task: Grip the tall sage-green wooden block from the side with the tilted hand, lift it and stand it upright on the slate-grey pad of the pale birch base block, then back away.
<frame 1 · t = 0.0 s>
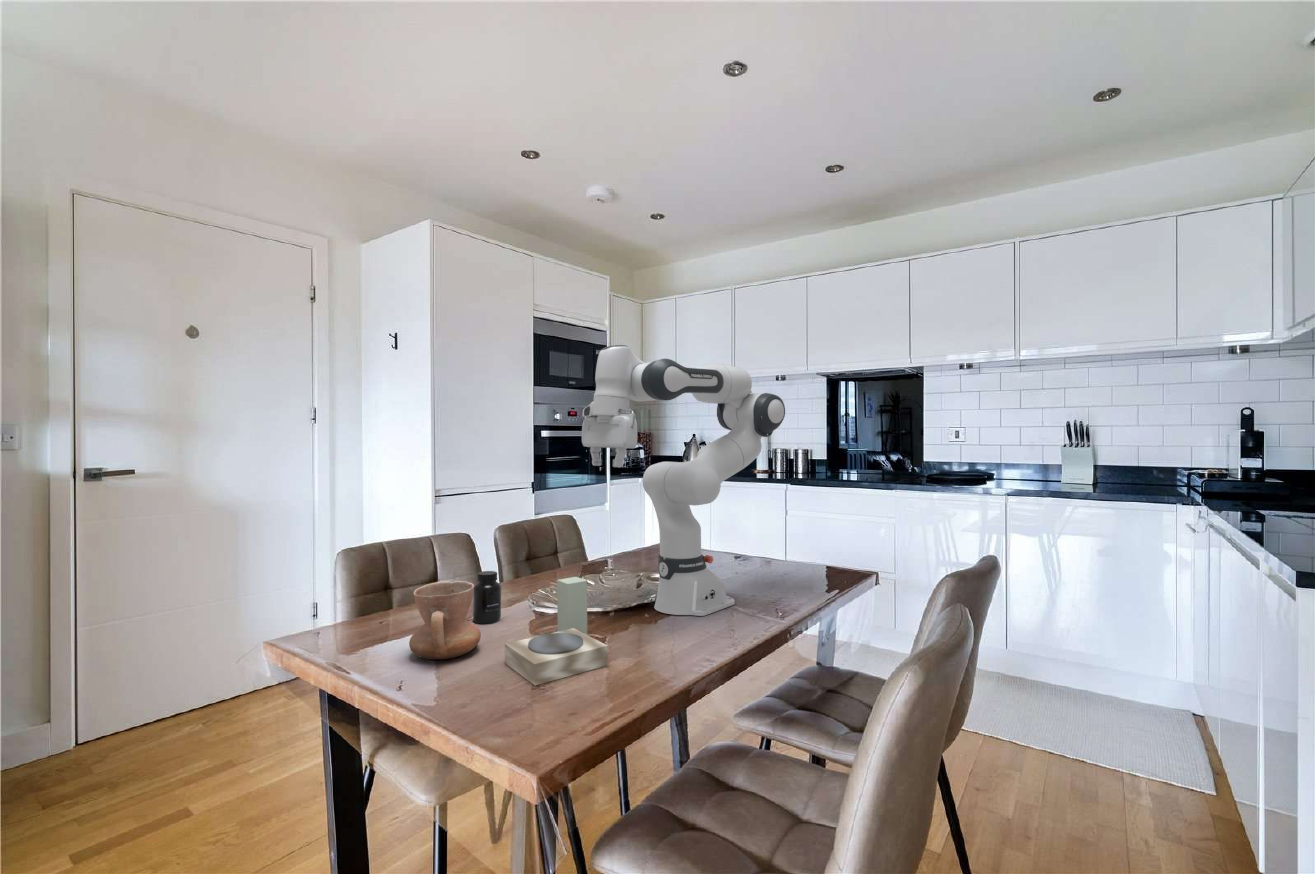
hand: (606, 466, 149), 39 cm above the table, tool pointing down, fingers open, 8 cm apart
ceramic jug: (444, 654, 130), on the table
sage block: (572, 636, 141), on the table
supplement bottle: (487, 620, 153), on the table
birch base: (555, 664, 124), on the table
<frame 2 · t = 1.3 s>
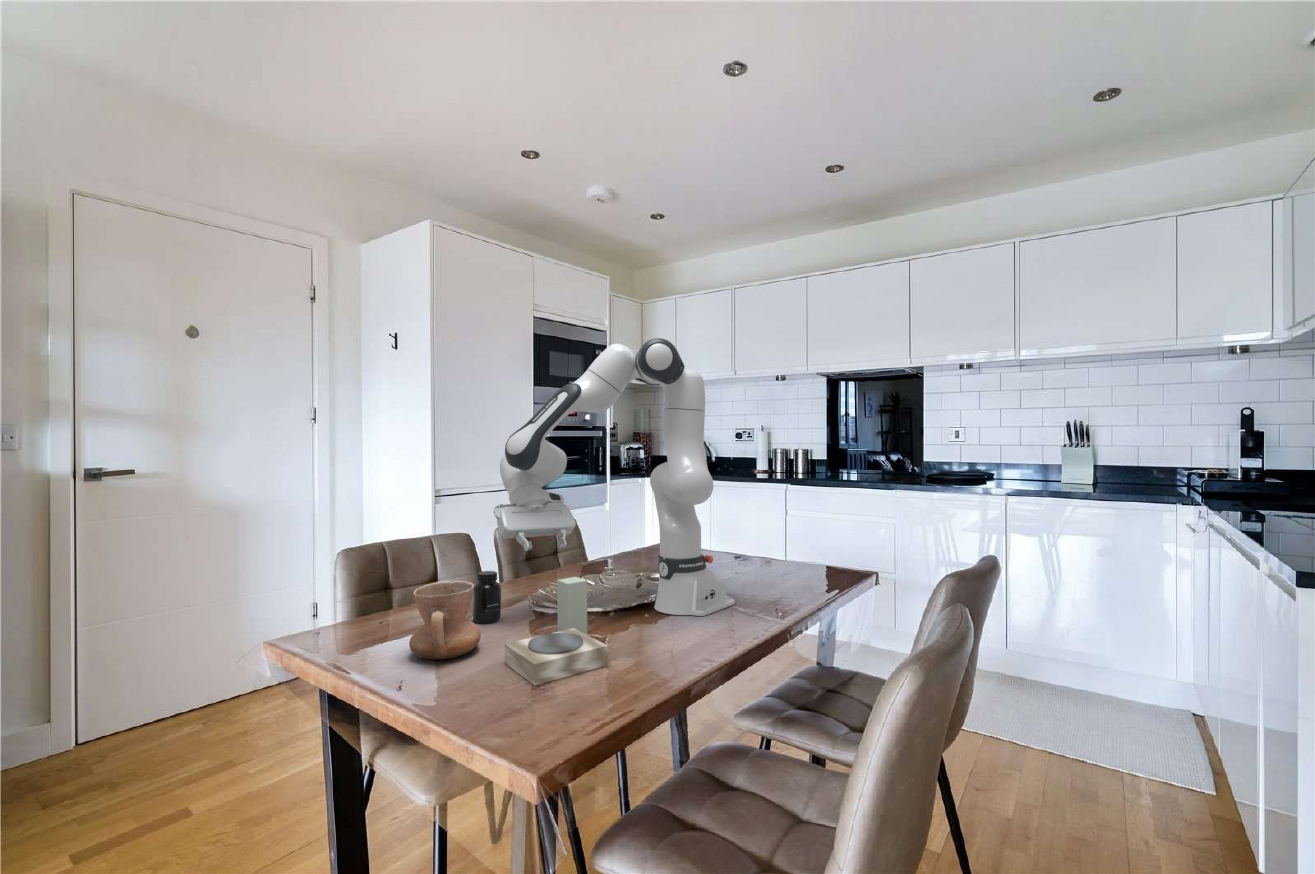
hand: (546, 547, 150), 19 cm above the table, tool tilted 45°, fingers open, 8 cm apart
nothing on the table moved.
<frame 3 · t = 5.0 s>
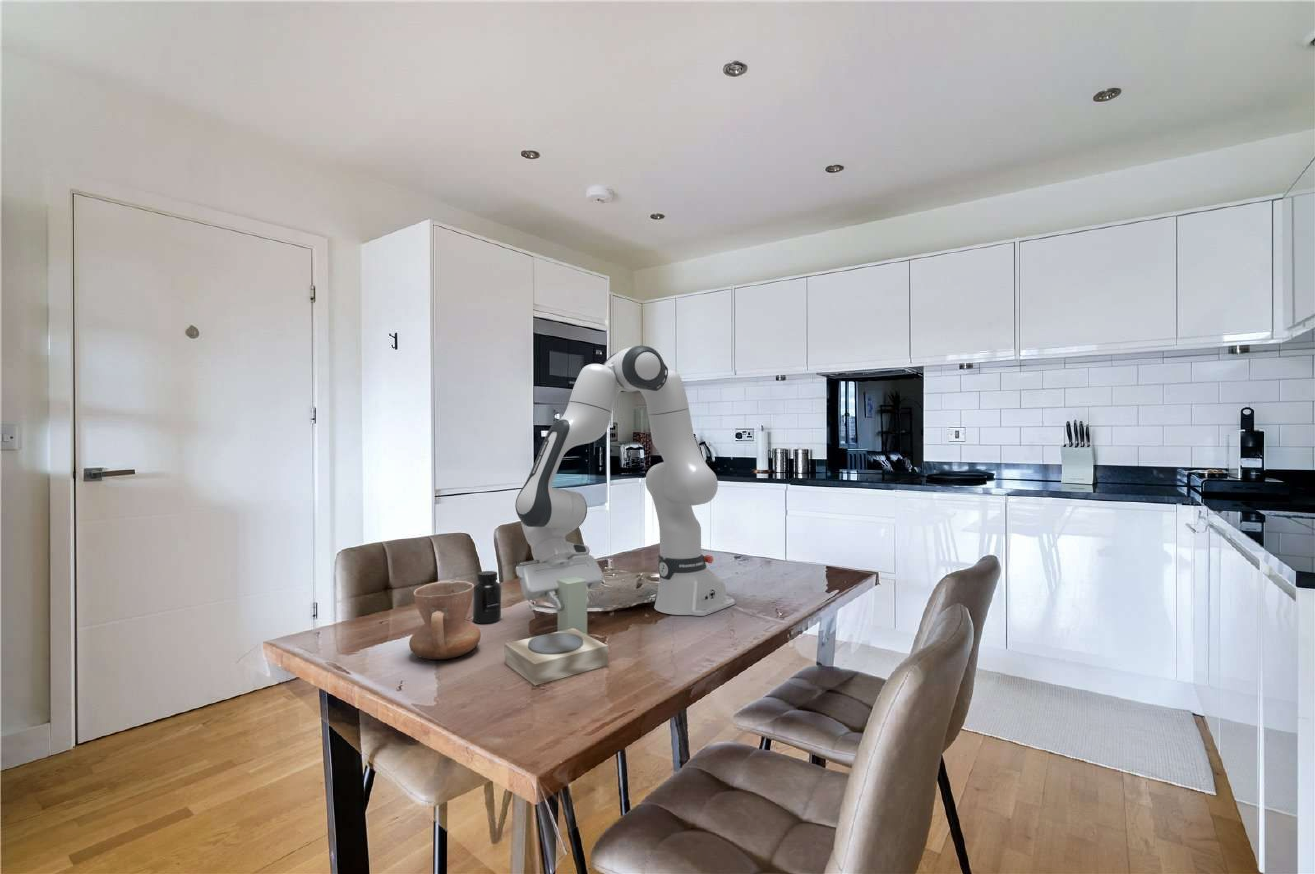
hand: (573, 607, 140), 7 cm above the table, tool tilted 45°, fingers closed on sage block, 5 cm apart
sage block: (572, 636, 141), on the table, touching gripper
everything else where it was.
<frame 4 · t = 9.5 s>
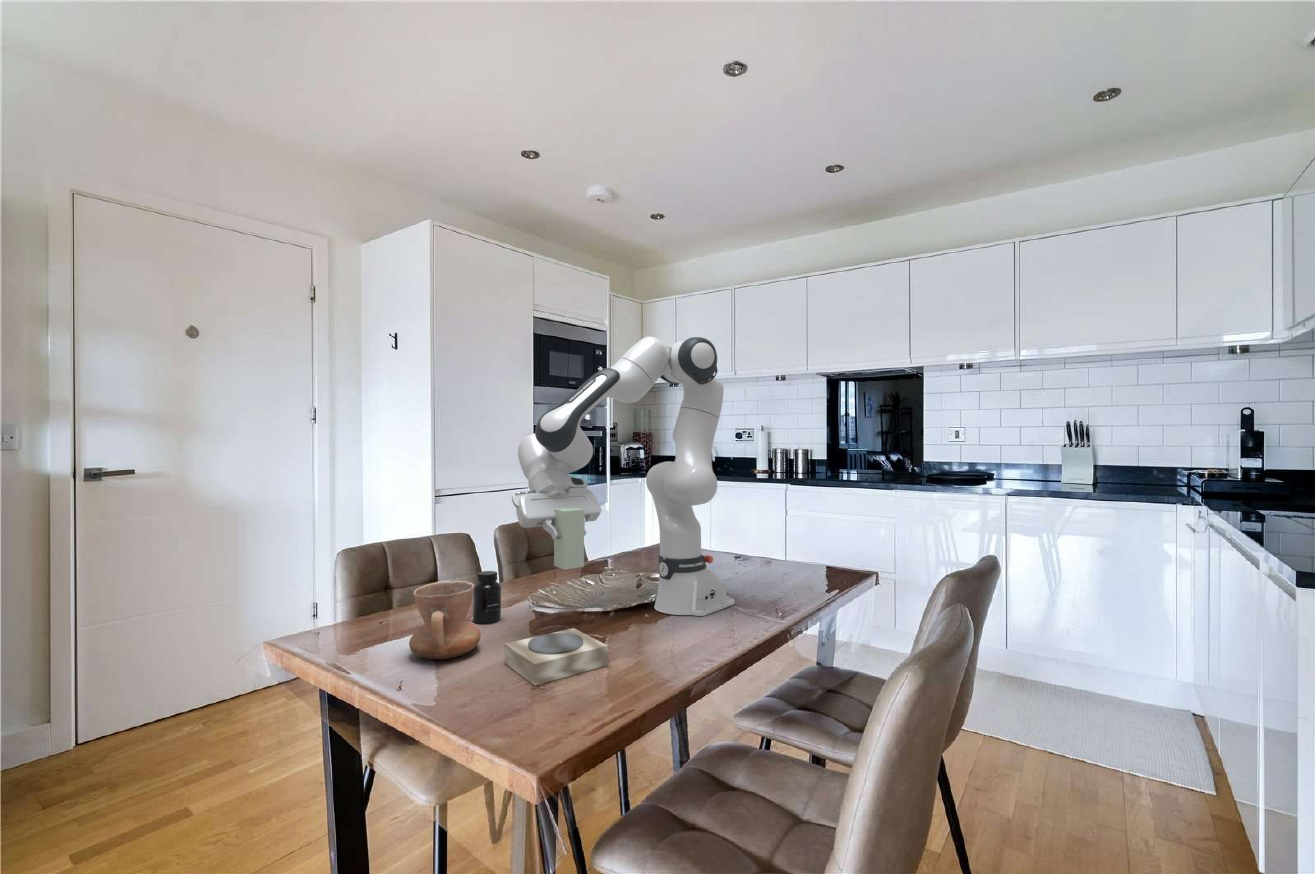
hand: (570, 536, 138), 24 cm above the table, tool tilted 45°, fingers closed on sage block, 5 cm apart
sage block: (569, 566, 139), point 17 cm above the table, touching gripper
everything else where it was.
when the fingers open (13 cm above the table, at t = 13.6 s): sage block drops 1 cm, resting on birch base.
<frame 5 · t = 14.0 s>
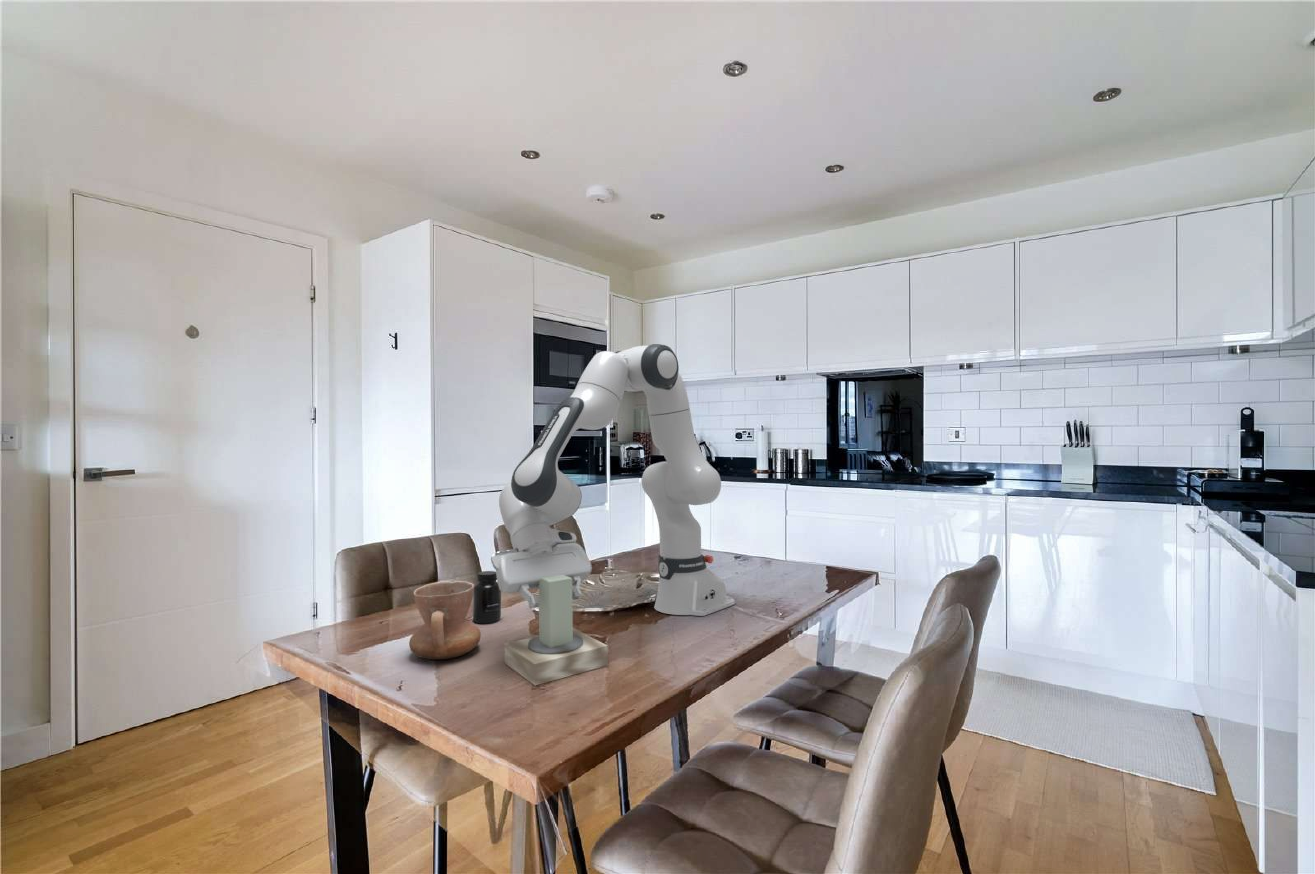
hand: (557, 601, 123), 13 cm above the table, tool tilted 45°, fingers open, 8 cm apart
sage block: (555, 641, 124), point 5 cm above the table, touching birch base
everything else where it was.
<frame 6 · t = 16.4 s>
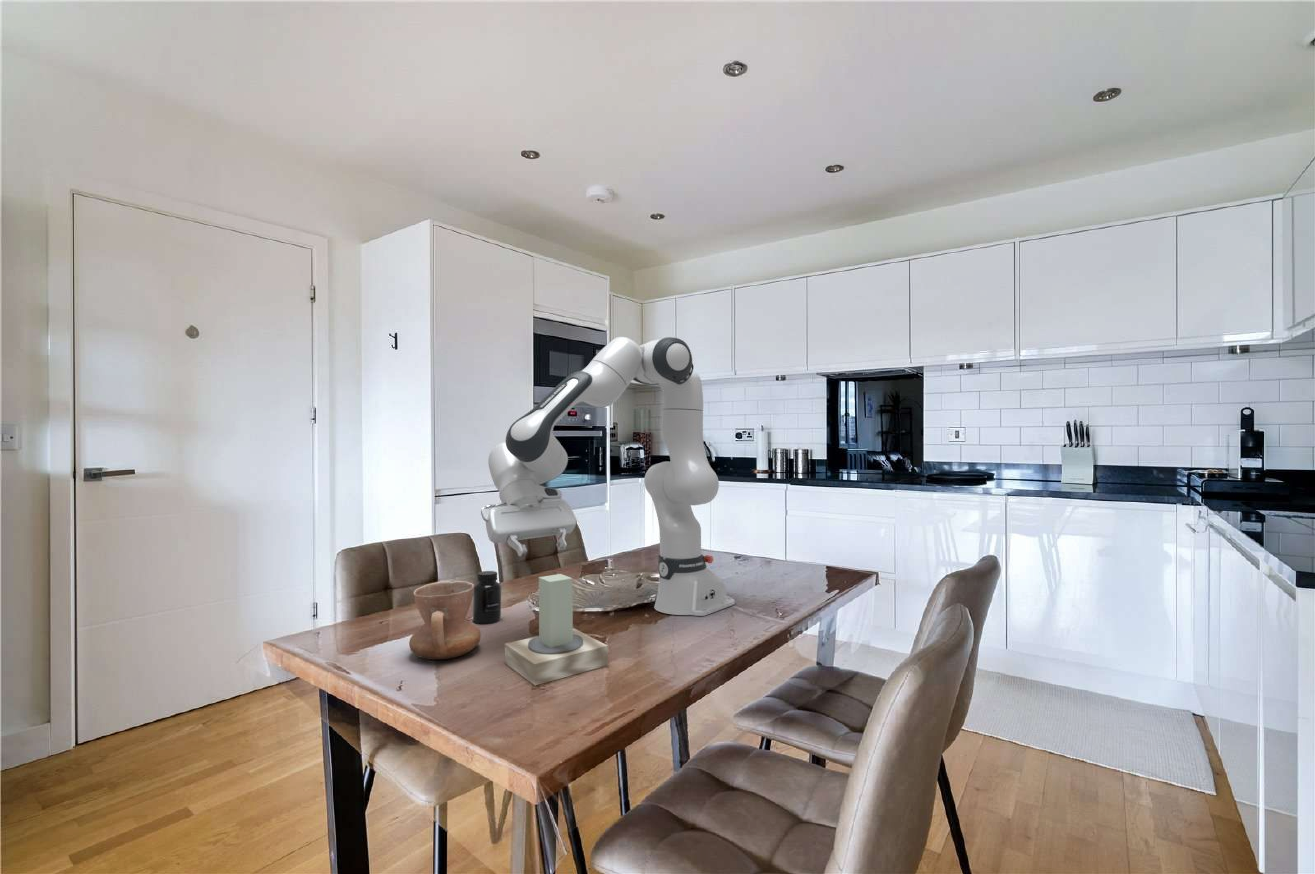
hand: (543, 550, 131), 22 cm above the table, tool tilted 45°, fingers open, 8 cm apart
nothing on the table moved.
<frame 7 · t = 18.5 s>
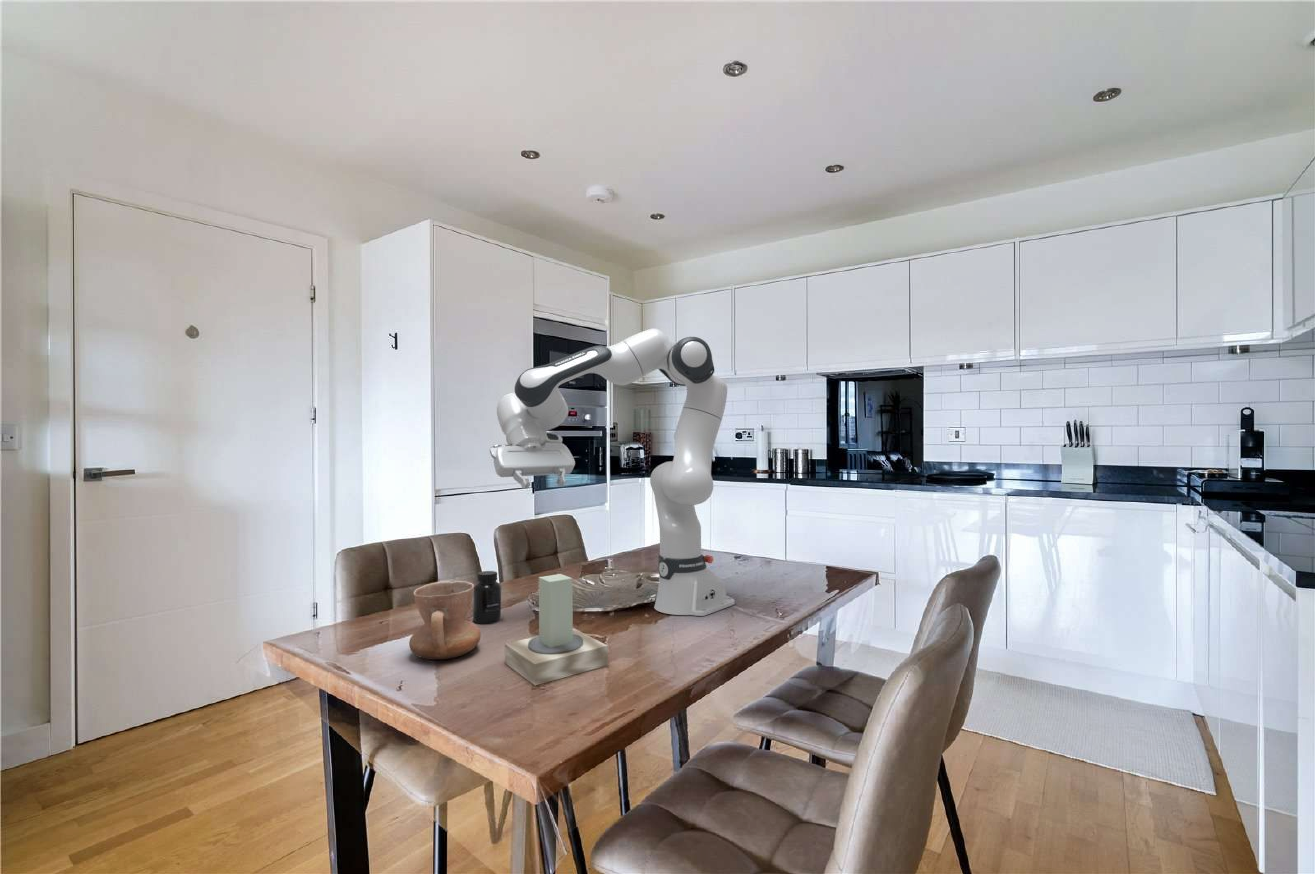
hand: (544, 485, 147), 34 cm above the table, tool tilted 45°, fingers open, 8 cm apart
nothing on the table moved.
at the end: sage block inside the target area on the birch base (0.1 cm from its centre), point 4.6 cm above the birch base's base; sage block tilted 0°; the gripper is holding nothing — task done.
